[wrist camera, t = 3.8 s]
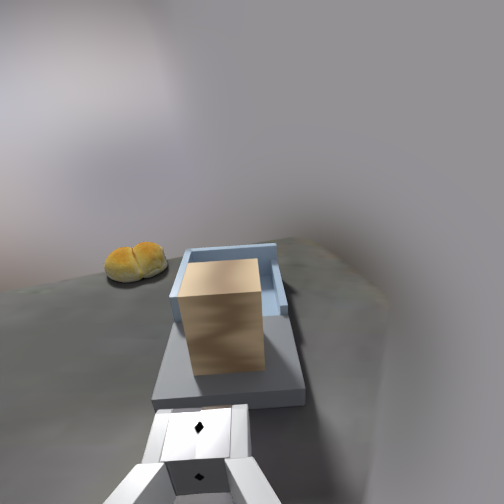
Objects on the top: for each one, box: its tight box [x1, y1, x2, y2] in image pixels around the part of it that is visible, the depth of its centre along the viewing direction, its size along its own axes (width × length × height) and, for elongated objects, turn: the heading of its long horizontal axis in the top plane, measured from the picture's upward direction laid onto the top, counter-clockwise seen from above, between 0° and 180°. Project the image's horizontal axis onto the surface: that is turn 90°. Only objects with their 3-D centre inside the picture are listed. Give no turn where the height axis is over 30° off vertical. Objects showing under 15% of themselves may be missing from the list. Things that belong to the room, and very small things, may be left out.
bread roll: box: [104, 242, 167, 282], centre depth 45 cm, size 8×9×4 cm
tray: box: [169, 243, 288, 323], centre depth 36 cm, size 12×11×5 cm
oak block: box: [177, 258, 265, 376], centre depth 25 cm, size 6×5×8 cm
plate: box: [151, 315, 306, 413], centre depth 28 cm, size 12×9×2 cm
